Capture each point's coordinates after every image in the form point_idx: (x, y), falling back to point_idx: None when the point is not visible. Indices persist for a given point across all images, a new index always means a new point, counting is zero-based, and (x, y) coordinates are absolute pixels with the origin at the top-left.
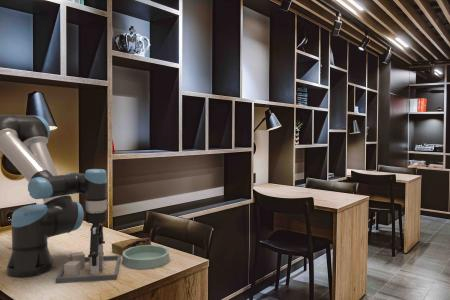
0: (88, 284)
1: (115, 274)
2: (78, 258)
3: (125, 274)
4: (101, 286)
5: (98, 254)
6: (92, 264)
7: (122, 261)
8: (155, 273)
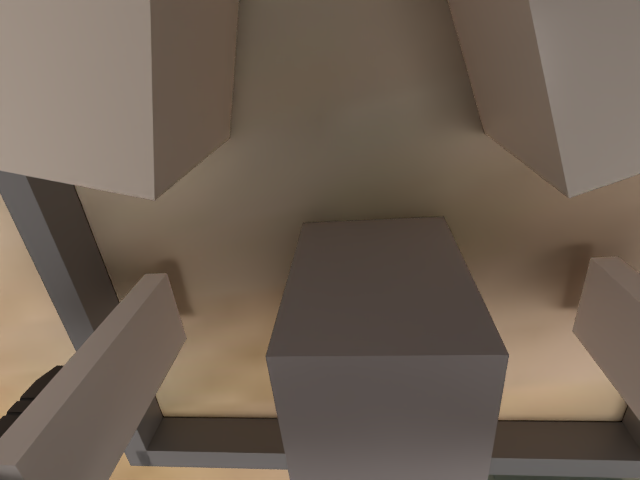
0: (7, 266)
1: (138, 459)
2: (516, 59)
3: (247, 471)
4: (3, 359)
5: (361, 456)
6: (33, 391)
7: (490, 477)
8: None
